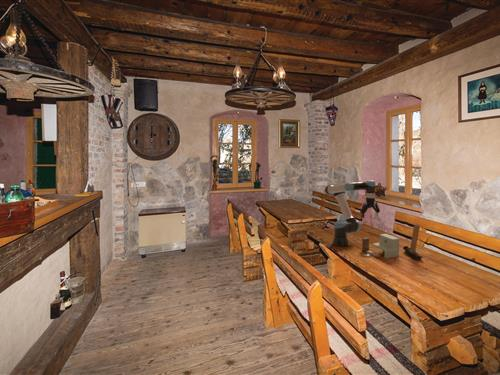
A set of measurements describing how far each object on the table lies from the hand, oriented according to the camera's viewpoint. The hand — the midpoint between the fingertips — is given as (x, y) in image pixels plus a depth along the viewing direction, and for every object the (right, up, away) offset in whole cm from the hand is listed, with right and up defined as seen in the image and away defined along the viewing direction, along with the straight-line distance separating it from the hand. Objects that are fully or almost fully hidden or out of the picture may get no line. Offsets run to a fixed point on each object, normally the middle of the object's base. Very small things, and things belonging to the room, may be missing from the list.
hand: (369, 220), depth 247 cm
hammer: (+31, -30, -13) cm, 45 cm away
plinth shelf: (+10, -30, -7) cm, 32 cm away
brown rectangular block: (-1, -29, -4) cm, 30 cm away
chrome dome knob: (-7, -31, -10) cm, 33 cm away
